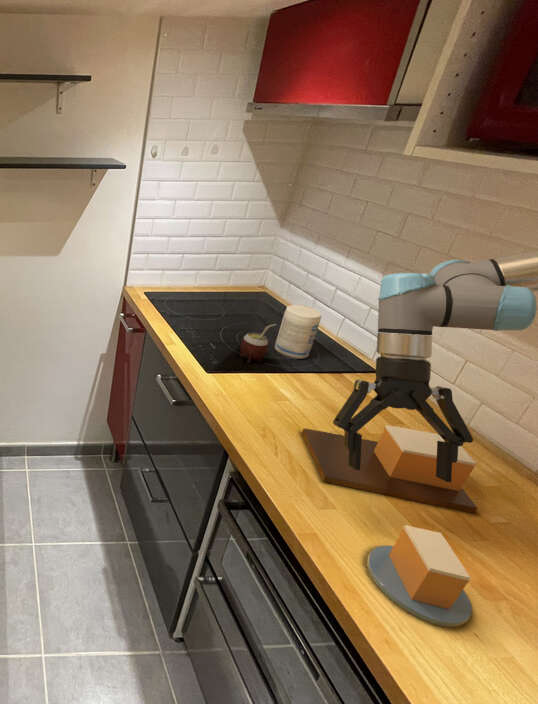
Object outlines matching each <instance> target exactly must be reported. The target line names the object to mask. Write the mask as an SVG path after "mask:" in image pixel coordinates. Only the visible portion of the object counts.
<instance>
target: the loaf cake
mask: <svg viewBox="0 0 538 704" xmlns="http://www.w3.org/2000/svg"><path fill="white" fill-rule="evenodd" d="M437 441H443V442H445V441H444V440H443V439H442V438H441V436H440V435H439V434H438V433H436V432H435V433H434V432H429V431H423V430H417V429H413V428H412V429H411V428H405V427H400V426H395V425H388V424H385V427H384V428H383V431H382V432H381V434H380V437H379V439H378V441H377V442H378V443H377V445H376V448H375V450H374V452H375V454H376V456H377V457H378V459H379V460H380V462H381V464H382V465H383V467H384V468H385V470H386V471H387V473H388V475H389V476H390V477H392V478H397V479H402V480H407V481H412V482H417V483H422V484H427V485H432V486H437V487H442V488H447V489H452V490H457V491H460V490H461V488H463V487H464V485H465V483H466V481H467V480H468V478H469V477H470V475H471V473H472V472H473V470H474V468H475V466H476V465H477V461H475V459H473V457H472V456H471V455H470V454H469V453H468V452H467V451H466V449H465V448H463V445H462V446H458V460H457V462H456V463H454V462H452V477H451V482H446V481H444V480H442V479H440V478H438V477H436V462H437Z"/></svg>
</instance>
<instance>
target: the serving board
mask: <svg viewBox="0 0 538 704" xmlns="http://www.w3.org/2000/svg"><path fill="white" fill-rule="evenodd" d="M301 435H302V437H303V439H304V442H305V444H306V447H307V449H308V450H309V453H310V455H311V458H312V459H313V462H314V464H315V466H316V468H317V471H318V474H319V475H320V477H321V480H322V482H325V483H329V484H334V485H338V486H343V487H348V488H352V489H357V490H363V491H367V492H371V493H377V494H381V495H386V496H389V497H395V498H400V499H404V500H408V501H409V500H410V501H415V502H419V503H424V504H427V505H433V506H438V507H441V508H442V507H443V508H447V509H452V510H456V511H462V512H466V513H472V514H476V512H477V511H478V509H479V507H478V506H477V505H476V503H475V502H474V501H473V500H472V498H471V497H470V496H469V495H468V494H467V492H466V491H465V489H464V488H463V487H462V488H461V490H460V491H457V490H452V489H447V488H442V487H437V486H432V485H427V484H422V483H417V482H412V481H407V480H402V479H397V478H392V477H390V476H389V475H388V473H387V471H386V470H385V468H384V467H383V465H382V464H381V462H380V460H379V459H378V457H377V456H376V454H375V452H374V450H375V448H376V445H377V443H378V441H374V440H370V439H365V438H362V442H361V463H360V470H355V469H354V468H352V467H351V466H349V465H348V464H349V450H348V449H347V448H345V446H344V435H343V434H337V433H332V432H328V431H327V432H326V431H321V430H317V429H316V430H315V429H310V428H305V427H303V428H302V431H301Z"/></svg>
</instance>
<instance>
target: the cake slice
mask: <svg viewBox="0 0 538 704" xmlns="http://www.w3.org/2000/svg"><path fill="white" fill-rule="evenodd" d="M392 546H393V548H392V550H391V552H390V553H389V557H390V559H391V561H392V563H393V565H394V567H395V569H396V571H397V572H398V574H399V576H400V578H401V580H402V582H403V584H404V586H405V588H406V590H407V592H408V594H409V596H410V598H411V599H412V600H415V601H419V602H423V603H427V604H431V605H435V606H438V607H442V608H446V609H450V608H451V606H452V605H453V604H454V602H455V601H456V599H457V598H458V596H459V595H460V593H461V592H462V590H464V589H465V588H466V586H467V585H468V583H469V582H470V581H471V579H472V577H471V576H470V574H469V573H468V571H467V570H466V568H465V567H464V565H463V563H462V562H461V560H460V559H459V557H458V556H457V555H456V553H455V551H454V550H453V549H452V547H451V546H450V544H449V543H448V541H447V539H446V537H444V535H443V534H442V532H440V531H439V532H438V531H434V530H429V529H425V528H420V527H415V526H411V525H407V524H404V526H403V528H402V530H401V531H400V533H399V535H398V537H397V539H396V541H395V543H394V544H393V545H392Z"/></svg>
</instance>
